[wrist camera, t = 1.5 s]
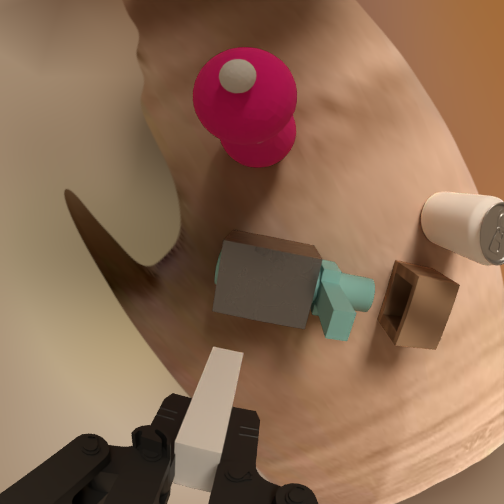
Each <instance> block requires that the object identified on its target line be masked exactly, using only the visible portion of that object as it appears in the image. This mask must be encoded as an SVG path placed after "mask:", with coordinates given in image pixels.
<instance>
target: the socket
mask: <svg viewBox="0 0 504 504" xmlns="http://www.w3.org/2000/svg"><path fill="white" fill-rule="evenodd" d="M459 286H460V285H459V284H457V283H456V282H454V281H453V280H451V279H449V278H448V277H446V276H444V275H443V274H441V273H439V272H438V271H436V270H434V269H433V268H429V267H424V266H420V265H415V264H411V263H406V262H402V261H397V260H395V263H394V267H393V270H392V274H391V278H390V281H389V284H388V288H387V291H386V294H385V298H384V301H383V304H382V307H381V310H380V313H379V316H378V321H379V322H380V324H381V325H382V327H383V328H384V330H385V331H386V332H387V334H388V335H389V337H390V338H391V340H392V341H393V343H394V344H395V346H403V347H413V348H423V349H434V350H436V348H437V346H438V343H439V341H440V339H441V336H442V334H443V331H444V329H445V326H446V323H447V321H448V318H449V315H450V313H451V310H452V307H453V304H454V301H455V298H456V295H457V292H458V289H459Z"/></svg>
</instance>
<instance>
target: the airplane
mask: <svg viewBox="0 0 504 504" xmlns="http://www.w3.org/2000/svg"><path fill="white" fill-rule="evenodd" d="M221 252H222V250H221ZM221 252H220V254H219V258H218V261H217V266H216V271H215V284H217V277H218V271H219V265H220V259H221ZM374 293H375V284H374V281H373V279H370V278H365V277H360V276H355V275H350V274H345V273H342V272H341V270H340V269H339V267H338V266H337V265H336V263H335V262H332V261H327V260H322V264H321V268H320V272H319V277H318V281H317V285H316V289H315V292H314V296H313V300H312V304H311V312H312V315H317V316H319V318H320V322H321V325H322V328H323V332H324V335H325V338H328V339H335V340H342V341H347V340H348V337H349V334H350V331H351V328H352V325H353V322H354V319H355V316H356V312H355V310H356V311H362V312H367V311H368V310H369V309H370V307H371V305H372V302H373V299H374Z"/></svg>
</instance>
